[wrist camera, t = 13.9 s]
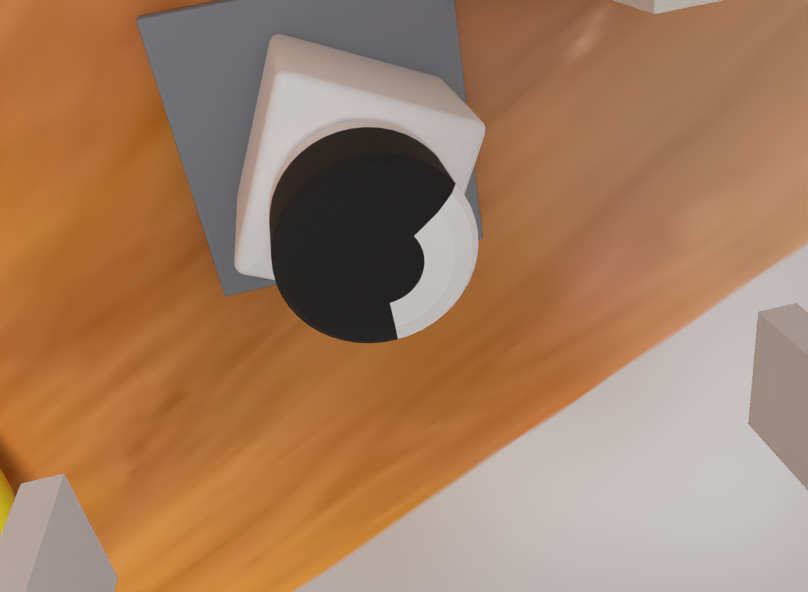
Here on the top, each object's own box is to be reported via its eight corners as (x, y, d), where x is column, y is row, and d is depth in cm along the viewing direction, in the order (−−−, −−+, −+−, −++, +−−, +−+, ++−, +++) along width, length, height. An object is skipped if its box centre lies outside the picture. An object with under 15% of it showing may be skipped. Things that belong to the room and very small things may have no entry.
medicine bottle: (235, 200, 32) (228, 352, 22) (271, 29, 29) (282, 111, 19) (395, 233, 34) (458, 386, 24) (444, 76, 31) (540, 174, 21)
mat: (443, -44, 30) (449, -42, 29) (477, 229, 36) (482, 238, 35) (139, 15, 29) (136, 19, 28) (225, 286, 35) (225, 296, 34)
